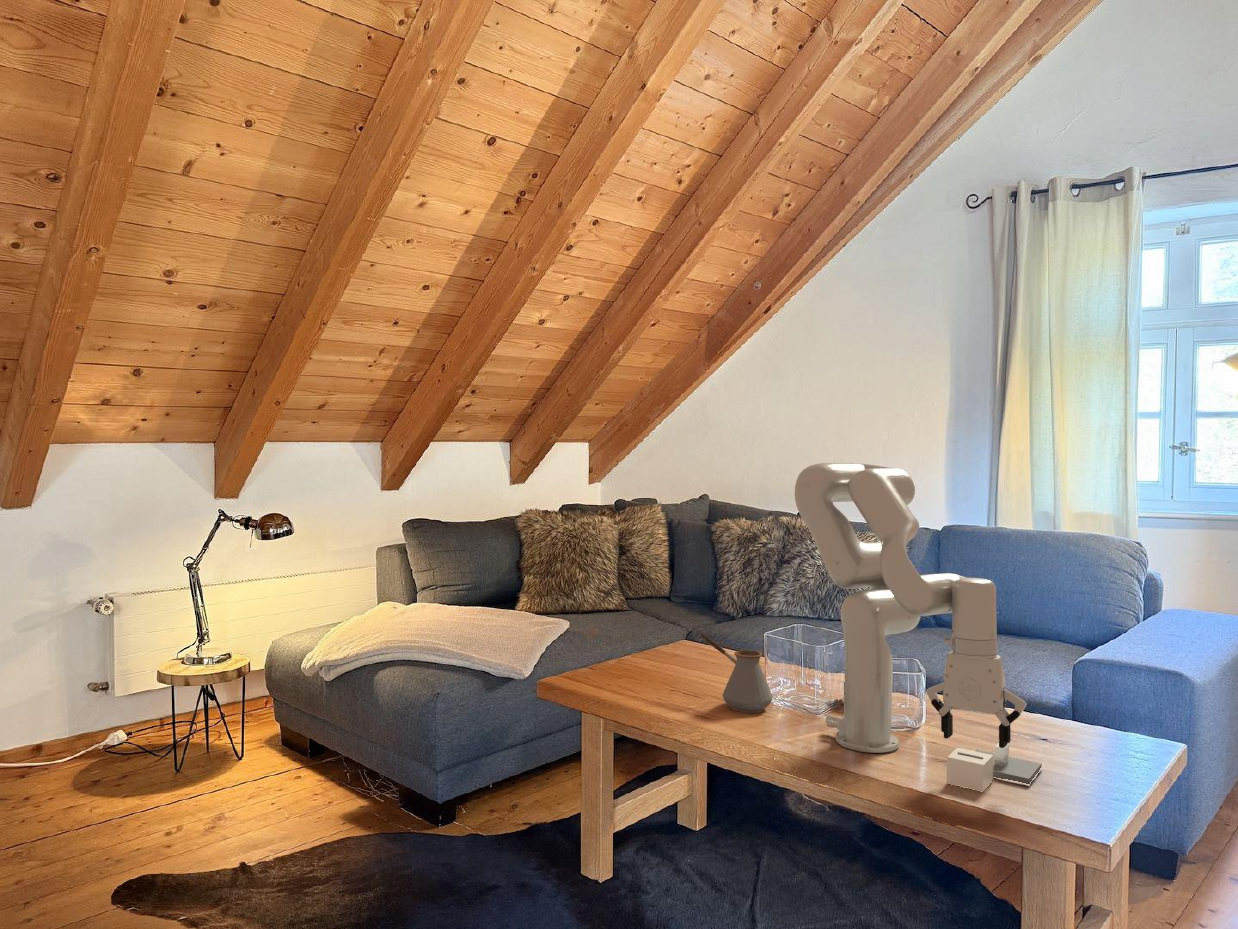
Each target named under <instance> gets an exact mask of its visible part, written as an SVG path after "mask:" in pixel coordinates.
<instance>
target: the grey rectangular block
mask: <svg viewBox="0 0 1238 929" xmlns="http://www.w3.org/2000/svg"><path fill="white" fill-rule="evenodd" d="M1009 752H1010V743H1008V744H1007V745H1006V746H1005V747H1004V748H1000V747H999V742H998V743H997V744H995V746H994V753H995V760H994V765H998V766H1003V767H1005V766H1006V765H1007V764H1008V762H1009V757H1010V753H1009Z"/></svg>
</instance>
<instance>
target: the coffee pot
mask: <svg viewBox="0 0 1238 929" xmlns="http://www.w3.org/2000/svg"><path fill="white" fill-rule="evenodd" d="M700 636H701V637H702V638H701V639H699V637H700ZM697 639H698V641H703V640H705V641H706V642H708V643H709V644H710V645H711V647H712V648H714V649H715V650H717V651H718V652H720V653H721V654H722V655H724V656H725V657H726V658H728V659H729V660H730V661H731V662H733V664H734V668H733V670H732V672H731V674H730V676H729V679H728V681H727V684H726V685H725V688H724V690H723V693H722V698H723V700H724V702H725V703H726V704H727V705H728V707H729V706H730V709H731V710H732V711H735V712H738V711H740V712H739V713H744V712H748V714H754V713H756V712H757V713H760V711H761V712H763V711H764V710H765V709H766V708H767V707H769V705H770V704H771V703H772V700H773V695H772V694H773V693H772V692H771V689H770V687H769V683H768V682H767V679H766V677H765V674H764V672H763V669H762V666H761V664H760V660H761V657H762V656H763V653H762V652H761V651H758V650H749V649H745V650H744V649H742V650H740V649H739V650H736V651H734V656H735V657H736V658H735V657H733V656H732V655H731V654H729V653H728V652H727V651H726V650H725V649H724V648H723V647H722V646H721V645H720V644H718V643H717V642H716V641H715V640H713V639H711V638H710V636H708V635H706V634H705V633H703V632H701V633H700V634H698V636H697Z"/></svg>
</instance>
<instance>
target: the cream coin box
mask: <svg viewBox="0 0 1238 929" xmlns="http://www.w3.org/2000/svg"><path fill="white" fill-rule="evenodd" d="M945 779H946V780H945V781H946V782H945V783H948V784H953V785H960V786H963V787H968V788H971V789H975V790H979V791H984V790H985V788H986V787H987V786H988V785H989V784H990V783H991V782H992V780H993V781H994V779H993V755H990V754H985V753H981V752H976V751H975V750H971V749H966V748H962V747H956V748H955V749H954V750H953V751H952V752H951V753H950V754H948V755H947V756H946V778H945ZM992 783H993V782H992ZM948 784H947V785H948ZM985 791H986V790H985ZM985 791H984V792H985Z"/></svg>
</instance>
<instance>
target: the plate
mask: <svg viewBox="0 0 1238 929" xmlns="http://www.w3.org/2000/svg"><path fill="white" fill-rule="evenodd" d="M974 751H976V752H981V753H985V754H990V755H993V777H996V778H1001V779H1008V780H1013V781H1018V782H1022V783H1026V784H1030V782H1031V781H1032V779H1033V778H1034V777H1035V775H1036V774H1037V773H1038V772H1039V770H1040V768H1041V767H1043V766H1042V763H1041V762H1036V761H1032V760H1027V759H1022V758H1018V757H1012V756H1009V762H1008V764H1007V765H1006V766H1005V767H1003V766H998V765H994V760H995V752H990V751H984V750H981V749H975V750H974Z"/></svg>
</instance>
